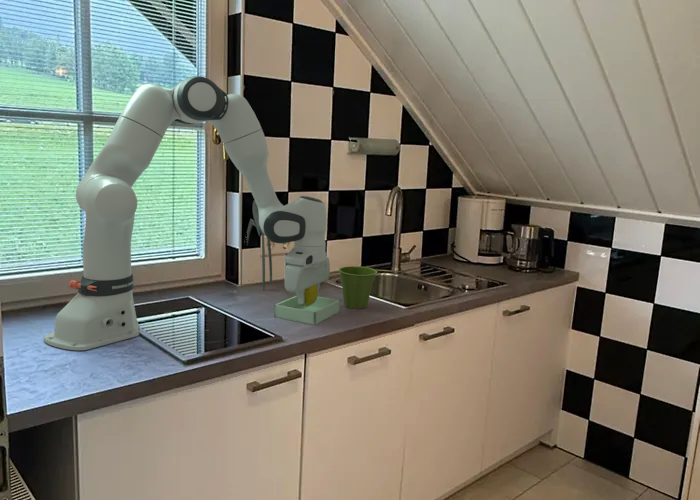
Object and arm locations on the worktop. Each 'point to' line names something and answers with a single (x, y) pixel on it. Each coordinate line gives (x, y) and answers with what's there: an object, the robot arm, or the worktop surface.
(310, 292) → the lemon
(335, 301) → the tray
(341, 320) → the worktop surface
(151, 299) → the worktop surface
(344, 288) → the plant pot
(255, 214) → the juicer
